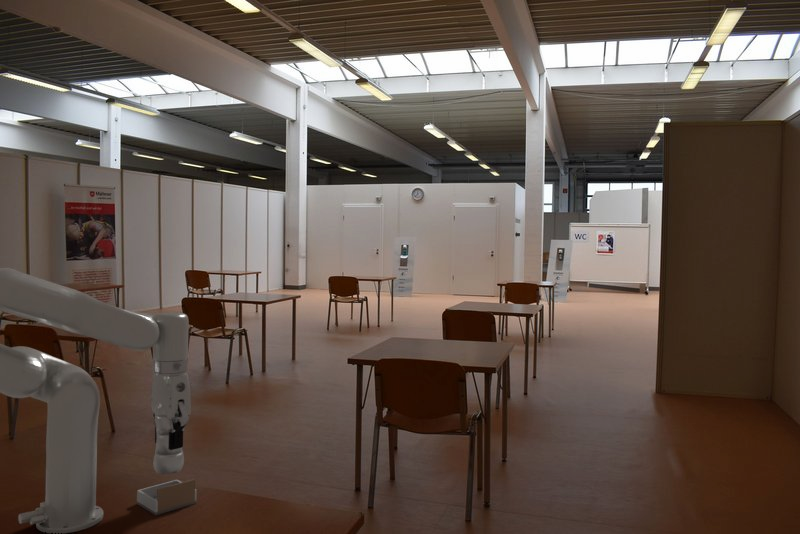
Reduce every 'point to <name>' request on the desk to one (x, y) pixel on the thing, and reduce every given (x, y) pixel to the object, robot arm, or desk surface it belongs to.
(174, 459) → the plastic bottle
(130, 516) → the desk surface
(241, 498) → the desk surface
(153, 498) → the drawer
